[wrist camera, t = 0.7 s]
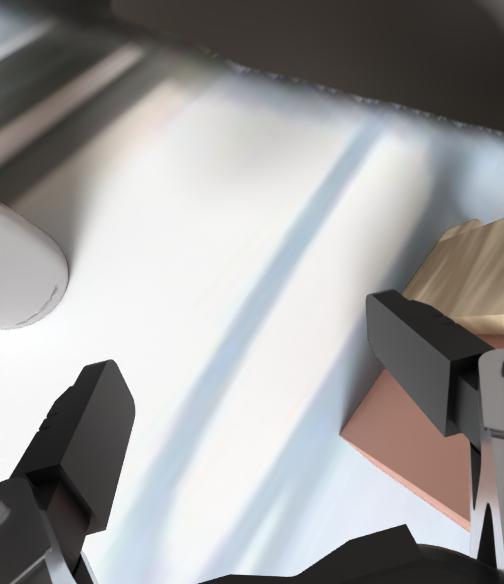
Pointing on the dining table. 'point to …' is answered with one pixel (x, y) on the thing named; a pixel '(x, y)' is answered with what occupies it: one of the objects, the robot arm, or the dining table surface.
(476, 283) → the board
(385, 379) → the book
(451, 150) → the dining table surface
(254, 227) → the dining table surface
